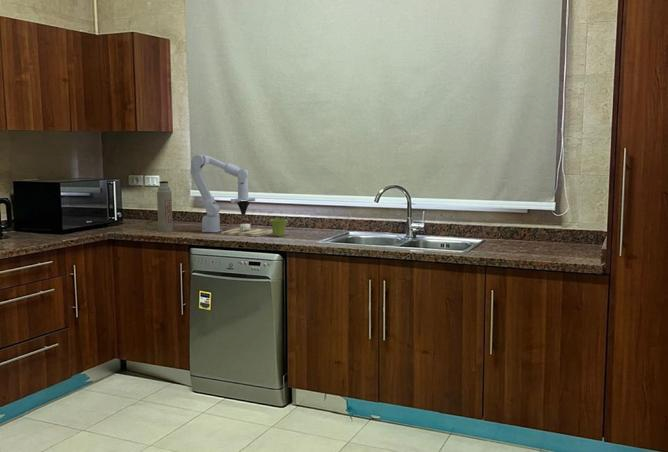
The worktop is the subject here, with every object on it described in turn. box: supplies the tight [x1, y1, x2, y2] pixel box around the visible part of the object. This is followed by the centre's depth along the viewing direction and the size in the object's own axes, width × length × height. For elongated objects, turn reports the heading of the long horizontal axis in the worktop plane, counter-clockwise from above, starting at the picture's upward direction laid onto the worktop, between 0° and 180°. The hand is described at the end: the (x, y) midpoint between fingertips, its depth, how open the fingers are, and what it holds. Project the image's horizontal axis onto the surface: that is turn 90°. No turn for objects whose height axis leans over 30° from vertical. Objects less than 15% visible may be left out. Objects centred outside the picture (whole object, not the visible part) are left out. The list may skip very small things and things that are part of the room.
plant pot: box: [269, 218, 288, 237], centre depth 361 cm, size 9×9×9 cm
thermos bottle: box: [156, 180, 174, 232], centre depth 382 cm, size 8×8×28 cm
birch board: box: [220, 227, 273, 238], centre depth 370 cm, size 22×18×2 cm
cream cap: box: [239, 223, 251, 231], centre depth 368 cm, size 10×6×3 cm, turn 174°
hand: (243, 214), depth 378 cm, fingers closed
